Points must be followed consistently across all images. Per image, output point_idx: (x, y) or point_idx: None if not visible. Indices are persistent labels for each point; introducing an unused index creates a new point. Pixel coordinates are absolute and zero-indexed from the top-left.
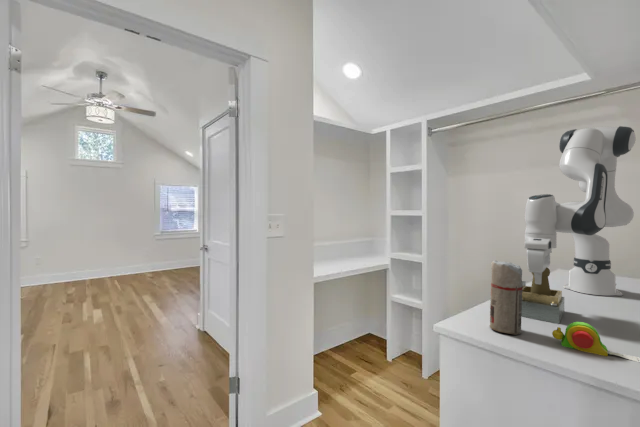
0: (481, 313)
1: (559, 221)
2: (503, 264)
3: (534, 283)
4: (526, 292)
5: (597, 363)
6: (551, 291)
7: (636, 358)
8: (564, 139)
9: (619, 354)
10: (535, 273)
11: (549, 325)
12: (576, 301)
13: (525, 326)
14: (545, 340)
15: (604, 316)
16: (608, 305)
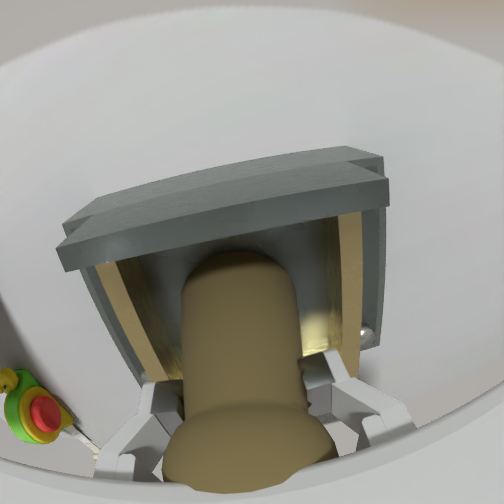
0: (5, 112)
1: None
2: None
3: (185, 362)
4: (115, 293)
5: None
6: (339, 343)
7: (89, 443)
8: None
9: (77, 431)
10: (105, 463)
11: (105, 329)
12: (499, 275)
13: (25, 285)
14: (3, 345)
15: (374, 377)
16: (489, 334)
